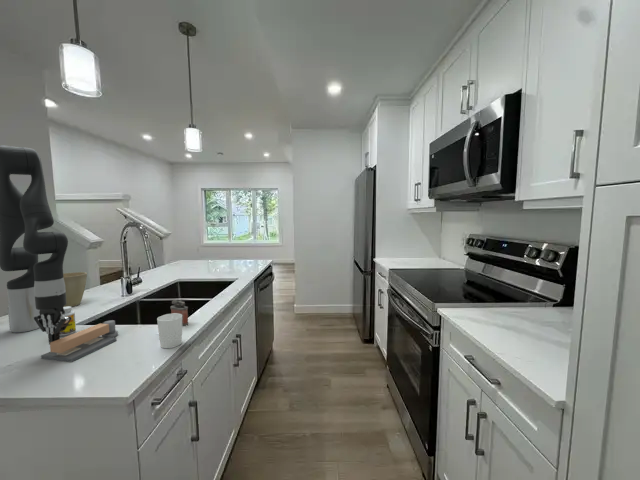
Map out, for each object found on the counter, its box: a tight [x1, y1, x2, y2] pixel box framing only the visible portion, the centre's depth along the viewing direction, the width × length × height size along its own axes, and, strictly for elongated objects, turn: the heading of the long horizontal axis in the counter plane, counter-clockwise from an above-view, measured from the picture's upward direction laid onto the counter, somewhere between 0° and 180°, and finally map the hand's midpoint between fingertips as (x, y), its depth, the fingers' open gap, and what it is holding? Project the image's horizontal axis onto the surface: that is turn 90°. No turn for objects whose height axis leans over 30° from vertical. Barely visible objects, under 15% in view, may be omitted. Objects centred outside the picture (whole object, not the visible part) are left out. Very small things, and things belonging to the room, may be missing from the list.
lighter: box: [170, 300, 189, 327], centre depth 123 cm, size 8×3×10 cm, turn 71°
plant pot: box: [63, 271, 88, 307], centre depth 150 cm, size 15×15×16 cm
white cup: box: [156, 313, 183, 349], centre depth 104 cm, size 8×8×10 cm
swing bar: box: [49, 319, 116, 353], centre depth 103 cm, size 21×4×4 cm, turn 169°
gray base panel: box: [40, 329, 119, 363], centre depth 104 cm, size 12×22×1 cm, turn 169°
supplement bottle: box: [60, 306, 77, 337], centre depth 114 cm, size 6×6×10 cm
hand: (54, 343), depth 98 cm, fingers closed
